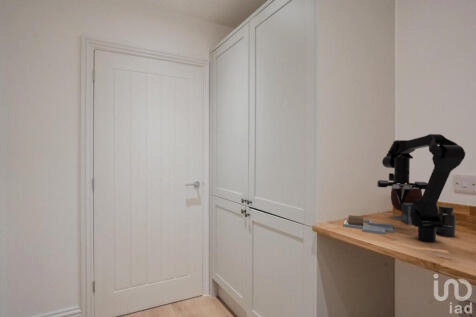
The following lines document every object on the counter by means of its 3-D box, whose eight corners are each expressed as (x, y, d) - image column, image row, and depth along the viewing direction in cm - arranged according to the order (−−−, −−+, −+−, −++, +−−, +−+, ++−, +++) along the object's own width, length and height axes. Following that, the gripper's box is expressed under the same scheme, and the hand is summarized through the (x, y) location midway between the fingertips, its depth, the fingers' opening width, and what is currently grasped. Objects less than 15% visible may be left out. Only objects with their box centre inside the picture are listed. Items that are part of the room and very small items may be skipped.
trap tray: (391, 226, 127) (391, 222, 126) (395, 238, 109) (395, 233, 109) (345, 221, 135) (345, 217, 135) (342, 231, 118) (342, 226, 118)
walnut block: (362, 227, 121) (362, 218, 121) (348, 225, 124) (348, 217, 124) (363, 224, 125) (363, 216, 125) (349, 223, 128) (349, 215, 128)
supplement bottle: (446, 237, 111) (447, 208, 110) (430, 233, 117) (431, 205, 117) (459, 236, 112) (460, 207, 112) (443, 231, 119) (443, 204, 119)
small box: (423, 224, 132) (423, 202, 132) (431, 227, 126) (431, 205, 126) (400, 223, 133) (400, 202, 133) (407, 226, 127) (407, 204, 127)
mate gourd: (394, 221, 137) (394, 182, 137) (387, 215, 150) (388, 179, 150) (429, 224, 132) (430, 183, 132) (420, 217, 146) (420, 180, 145)
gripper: (422, 168, 123) (422, 202, 123) (376, 167, 130) (376, 199, 131) (428, 169, 113) (428, 207, 113) (378, 168, 120) (378, 203, 120)
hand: (401, 204), depth 120 cm, fingers closed
